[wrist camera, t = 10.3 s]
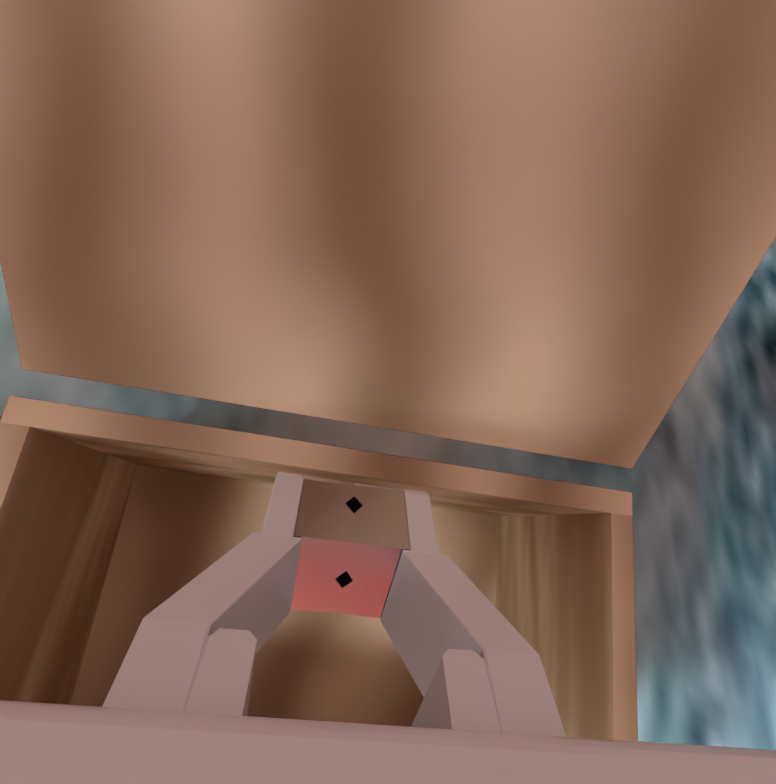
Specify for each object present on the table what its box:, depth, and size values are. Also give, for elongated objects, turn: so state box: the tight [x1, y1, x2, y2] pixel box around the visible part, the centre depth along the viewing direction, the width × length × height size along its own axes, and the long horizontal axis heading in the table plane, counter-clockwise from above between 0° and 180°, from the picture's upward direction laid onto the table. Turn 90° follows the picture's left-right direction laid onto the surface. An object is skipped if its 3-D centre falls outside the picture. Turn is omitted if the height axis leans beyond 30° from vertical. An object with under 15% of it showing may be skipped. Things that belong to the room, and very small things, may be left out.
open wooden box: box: [0, 396, 638, 741], centre depth 18 cm, size 20×12×10 cm, turn 83°
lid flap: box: [0, 0, 776, 469], centre depth 12 cm, size 19×12×1 cm
